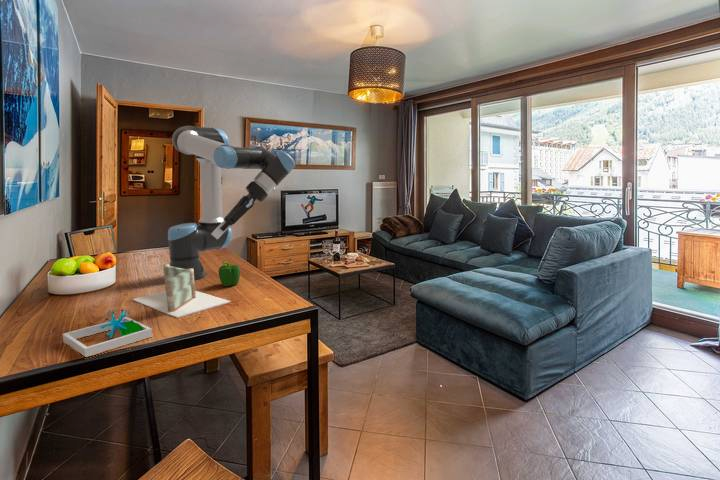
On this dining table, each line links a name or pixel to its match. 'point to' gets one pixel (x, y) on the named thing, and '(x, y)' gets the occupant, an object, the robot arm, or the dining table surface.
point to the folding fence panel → (178, 290)
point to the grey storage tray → (97, 348)
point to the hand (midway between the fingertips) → (214, 236)
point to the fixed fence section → (174, 271)
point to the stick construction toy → (122, 325)
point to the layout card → (187, 308)
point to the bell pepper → (229, 274)
